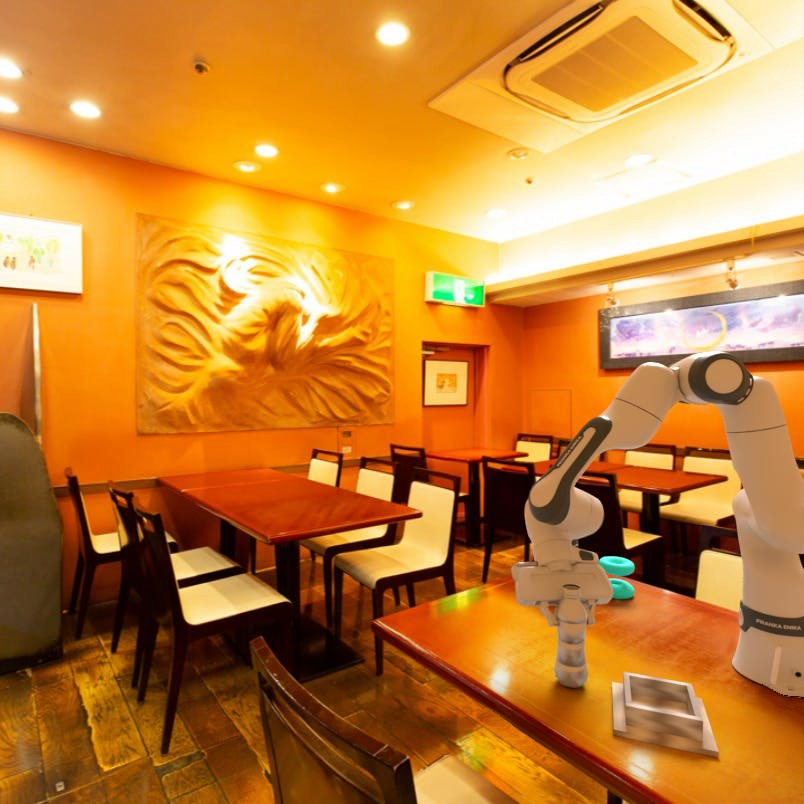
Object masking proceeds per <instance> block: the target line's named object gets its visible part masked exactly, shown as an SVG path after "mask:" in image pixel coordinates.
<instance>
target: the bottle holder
mask: <svg viewBox="0 0 804 804" xmlns="http://www.w3.org/2000/svg"><path fill="white" fill-rule="evenodd" d="M622 675H623V677H622V678H623V681H622V683H620V682H615V681H611V692H612V693H611V695H612V697H611V698H612V722H613V723H612V725H613V728H612V729H613V736H616V737H617V736H618V737H620V738H626V739H631V740H636V741H640V742H645V743H649V744H654V745H658V746H659V745H660V746H663V747H667V748H672V749H676V750H681V751H686V752H688V753H689V752H690V753H695V754H697V755H698V754H699V755H704V756H707V755H708V756H709V757H712V756H714V757H713V758H716V757H719V758H720V756H719V755H720V752H719V748H718V745H717V742H716V739H715V737H714V733H713V730H712V727H711V724H710V720H709V718H708V717H709V716H708V715H707V711H706V708H705V705H704V701H703V699H702V698H701V697H696V693H695V689H694V687H693V684H692V683H688V682H682V681H677V680H671V679H665V678H660V677H654V676H648V675H645V674H643V675H642V674H638V673H632V672H627V671H623V674H622Z"/></svg>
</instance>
